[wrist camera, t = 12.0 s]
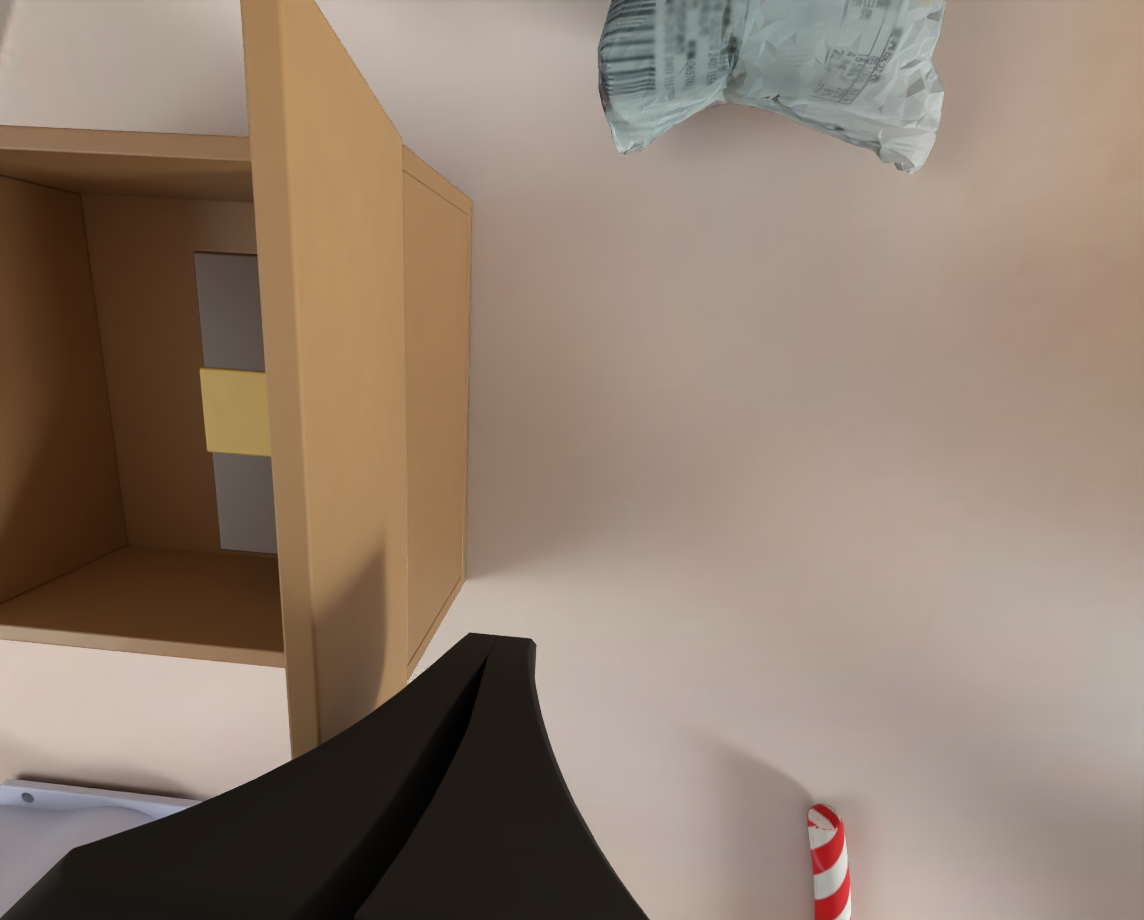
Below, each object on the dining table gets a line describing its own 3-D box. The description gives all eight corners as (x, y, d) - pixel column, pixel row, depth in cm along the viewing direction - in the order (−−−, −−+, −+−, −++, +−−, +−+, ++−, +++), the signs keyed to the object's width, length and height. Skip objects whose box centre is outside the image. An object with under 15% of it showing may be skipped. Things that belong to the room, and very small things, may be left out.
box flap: (382, 135, 11) (402, 137, 12) (391, 696, 15) (408, 696, 15) (234, -67, 5) (279, -60, 5) (304, 973, 8) (332, 971, 9)
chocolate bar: (394, 523, 20) (350, 564, 17) (281, 513, 20) (215, 552, 17) (390, 269, 18) (339, 258, 15) (265, 262, 18) (186, 249, 15)
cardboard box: (472, 200, 18) (403, 143, 12) (465, 581, 21) (408, 681, 15) (78, 179, 19) (-164, 116, 13) (128, 551, 22) (-48, 635, 16)
